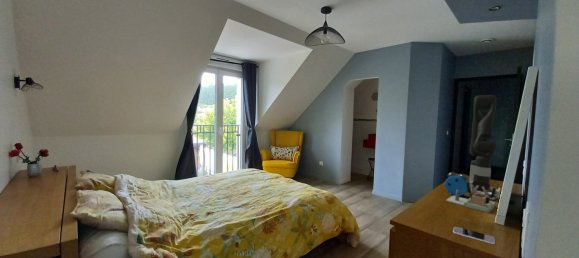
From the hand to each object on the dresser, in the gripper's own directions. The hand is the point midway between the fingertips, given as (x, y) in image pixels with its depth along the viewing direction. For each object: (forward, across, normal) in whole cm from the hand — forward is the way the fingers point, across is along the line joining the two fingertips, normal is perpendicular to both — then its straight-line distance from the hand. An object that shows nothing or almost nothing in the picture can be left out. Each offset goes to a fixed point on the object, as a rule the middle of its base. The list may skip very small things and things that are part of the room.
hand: (479, 201), depth 142 cm
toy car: (+4, +3, -25) cm, 25 cm away
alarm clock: (+3, +15, -13) cm, 20 cm away
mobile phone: (+4, -6, +43) cm, 44 cm away
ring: (+1, 0, 0) cm, 1 cm away
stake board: (+3, +11, -1) cm, 11 cm away
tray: (+3, 0, -1) cm, 3 cm away
